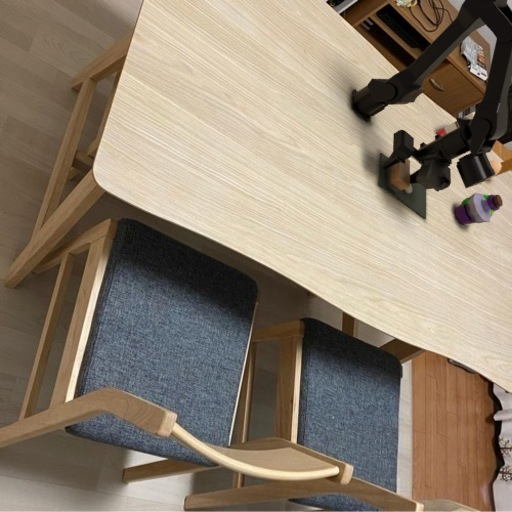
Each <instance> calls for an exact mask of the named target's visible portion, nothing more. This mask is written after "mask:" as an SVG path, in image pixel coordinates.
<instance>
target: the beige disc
mask: <svg viewBox="0 0 512 512" xmlns="http://www.w3.org/2000/svg"><path fill="white" fill-rule="evenodd" d="M404 190H405V191H406V192H407V193H411V192H412V186H411V184H410V187H408V188H406V189H404Z"/></svg>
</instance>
